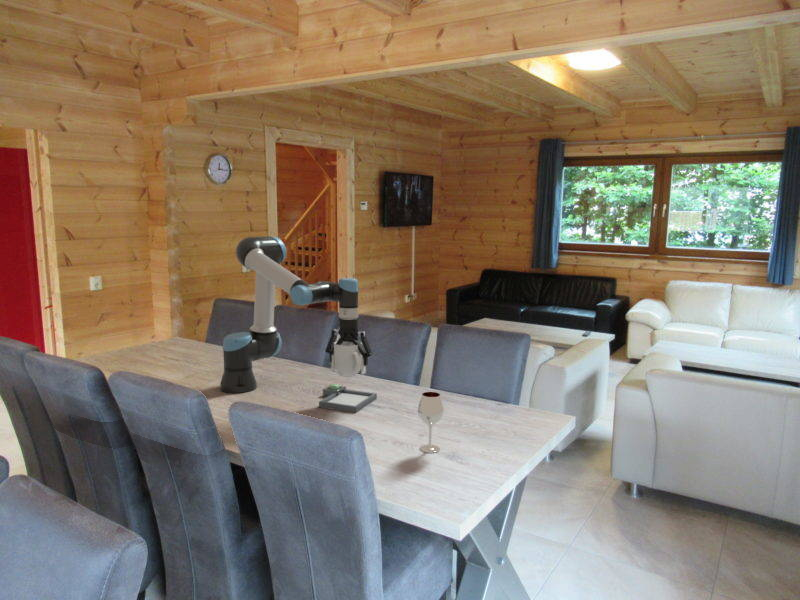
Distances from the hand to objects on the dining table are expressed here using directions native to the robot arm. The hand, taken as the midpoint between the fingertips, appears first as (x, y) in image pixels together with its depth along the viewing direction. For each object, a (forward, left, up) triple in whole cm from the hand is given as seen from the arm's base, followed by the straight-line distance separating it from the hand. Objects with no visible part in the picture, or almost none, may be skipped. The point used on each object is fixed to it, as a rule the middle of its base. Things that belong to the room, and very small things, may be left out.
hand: (348, 372), depth 230 cm
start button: (-10, +7, -11) cm, 16 cm away
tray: (0, 0, -13) cm, 13 cm away
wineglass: (+45, -32, -13) cm, 57 cm away
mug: (0, 0, -2) cm, 2 cm away
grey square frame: (-10, +7, -13) cm, 18 cm away
